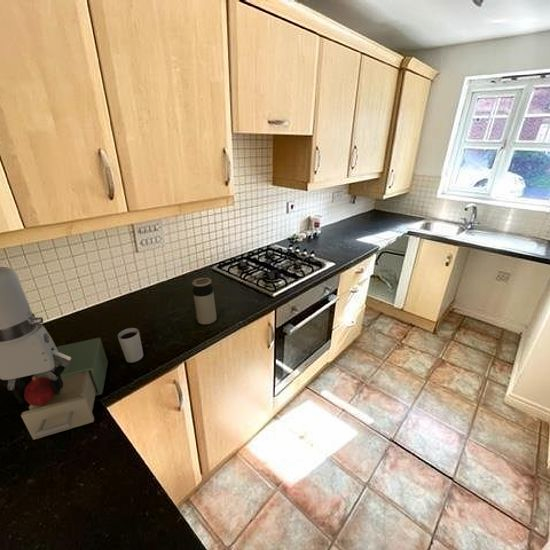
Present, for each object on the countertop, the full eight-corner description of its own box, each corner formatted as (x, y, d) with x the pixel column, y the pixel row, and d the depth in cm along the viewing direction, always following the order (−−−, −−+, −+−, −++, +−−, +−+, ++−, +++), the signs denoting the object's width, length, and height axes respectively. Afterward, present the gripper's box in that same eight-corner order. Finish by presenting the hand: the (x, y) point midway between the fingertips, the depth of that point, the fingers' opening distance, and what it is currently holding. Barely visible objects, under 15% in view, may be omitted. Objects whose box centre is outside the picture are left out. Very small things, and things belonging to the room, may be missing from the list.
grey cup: (137, 348, 110) (131, 325, 106) (148, 355, 107) (142, 331, 103) (120, 359, 105) (113, 335, 101) (131, 365, 102) (124, 341, 98)
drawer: (90, 437, 76) (81, 412, 73) (26, 457, 72) (13, 432, 68) (100, 384, 93) (93, 363, 89) (49, 398, 88) (39, 376, 85)
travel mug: (220, 317, 129) (215, 279, 121) (208, 326, 122) (203, 287, 115) (205, 313, 132) (200, 276, 125) (193, 322, 126) (187, 283, 118)
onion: (65, 400, 70) (55, 373, 67) (37, 418, 66) (24, 390, 62) (53, 390, 73) (42, 364, 70) (26, 407, 68) (13, 379, 65)
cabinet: (102, 394, 90) (93, 367, 86) (44, 410, 86) (31, 382, 81) (107, 362, 104) (100, 337, 100) (58, 374, 99) (47, 348, 95)
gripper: (66, 310, 67) (88, 374, 74) (-31, 326, 61) (3, 393, 69) (56, 328, 60) (81, 395, 68) (-53, 347, 55) (-13, 419, 62)
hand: (41, 393), depth 68 cm, fingers closed on onion, 5 cm apart
